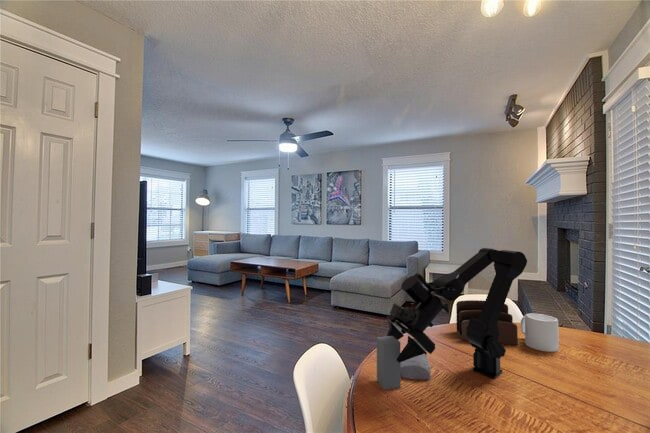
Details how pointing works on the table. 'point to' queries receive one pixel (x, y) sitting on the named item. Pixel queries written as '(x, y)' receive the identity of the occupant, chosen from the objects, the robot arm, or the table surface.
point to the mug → (540, 332)
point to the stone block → (416, 368)
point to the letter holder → (474, 309)
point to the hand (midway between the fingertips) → (390, 354)
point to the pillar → (388, 362)
